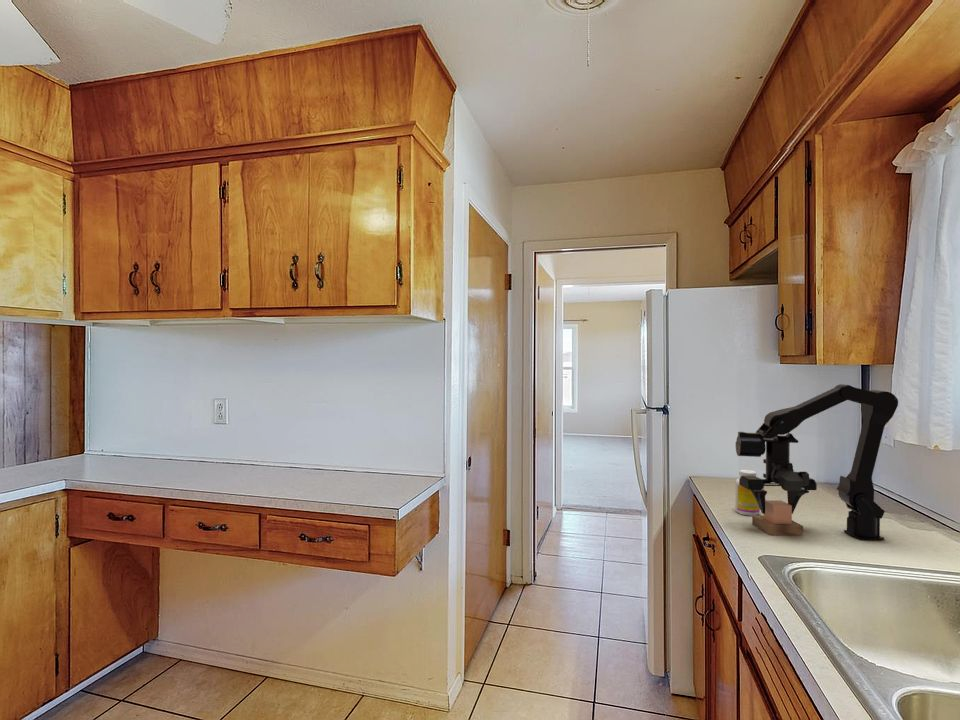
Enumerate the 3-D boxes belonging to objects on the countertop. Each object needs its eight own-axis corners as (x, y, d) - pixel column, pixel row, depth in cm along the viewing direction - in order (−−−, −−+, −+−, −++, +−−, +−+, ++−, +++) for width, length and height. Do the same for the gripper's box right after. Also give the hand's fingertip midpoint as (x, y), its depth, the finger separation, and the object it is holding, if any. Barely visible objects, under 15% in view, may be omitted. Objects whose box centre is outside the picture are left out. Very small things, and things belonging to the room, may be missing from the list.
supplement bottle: (762, 517, 155) (763, 474, 155) (738, 515, 157) (739, 473, 156) (755, 510, 162) (756, 469, 162) (732, 509, 163) (733, 468, 163)
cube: (781, 517, 147) (781, 500, 147) (791, 523, 142) (791, 505, 142) (763, 517, 147) (763, 500, 147) (773, 523, 142) (773, 505, 142)
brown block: (783, 524, 149) (783, 515, 149) (803, 535, 140) (803, 526, 140) (752, 524, 149) (752, 515, 149) (769, 535, 140) (769, 525, 140)
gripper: (759, 463, 136) (759, 522, 136) (830, 464, 136) (830, 523, 136) (738, 455, 147) (738, 510, 147) (804, 455, 147) (803, 510, 147)
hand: (777, 513), depth 144 cm, fingers open, 7 cm apart
